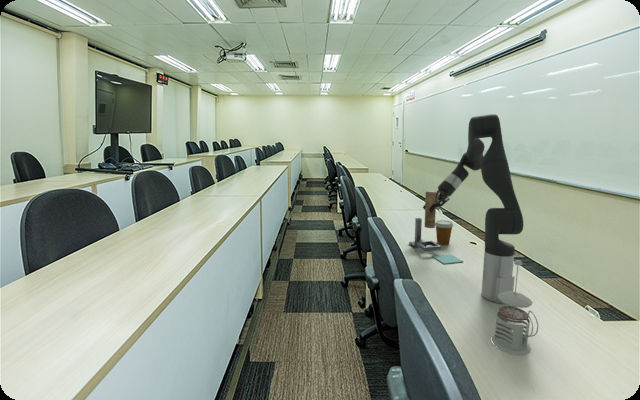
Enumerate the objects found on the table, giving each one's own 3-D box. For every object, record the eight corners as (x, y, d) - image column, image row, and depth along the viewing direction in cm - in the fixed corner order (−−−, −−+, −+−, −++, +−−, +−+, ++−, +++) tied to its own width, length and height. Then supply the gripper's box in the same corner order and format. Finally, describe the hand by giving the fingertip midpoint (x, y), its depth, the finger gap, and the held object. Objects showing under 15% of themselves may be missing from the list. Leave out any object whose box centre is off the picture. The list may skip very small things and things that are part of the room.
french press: (509, 330, 93) (517, 251, 88) (546, 355, 82) (557, 267, 77) (482, 336, 90) (489, 256, 86) (517, 363, 79) (526, 272, 75)
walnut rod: (436, 227, 154) (438, 192, 151) (427, 228, 153) (429, 192, 150) (431, 225, 159) (432, 190, 156) (422, 226, 158) (423, 191, 155)
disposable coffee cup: (453, 245, 168) (455, 224, 166) (435, 245, 170) (436, 224, 168) (450, 240, 177) (451, 220, 175) (432, 239, 179) (433, 219, 177)
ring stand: (440, 254, 156) (442, 225, 153) (424, 256, 154) (425, 226, 151) (422, 243, 174) (423, 216, 171) (407, 244, 172) (408, 217, 169)
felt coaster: (462, 262, 145) (463, 261, 145) (443, 264, 144) (443, 263, 144) (450, 254, 155) (450, 254, 155) (432, 256, 153) (432, 255, 153)
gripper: (437, 178, 160) (415, 202, 160) (453, 181, 146) (429, 207, 146) (446, 188, 162) (424, 211, 162) (463, 192, 148) (439, 218, 148)
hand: (427, 209), depth 154 cm, fingers closed on walnut rod, 5 cm apart
